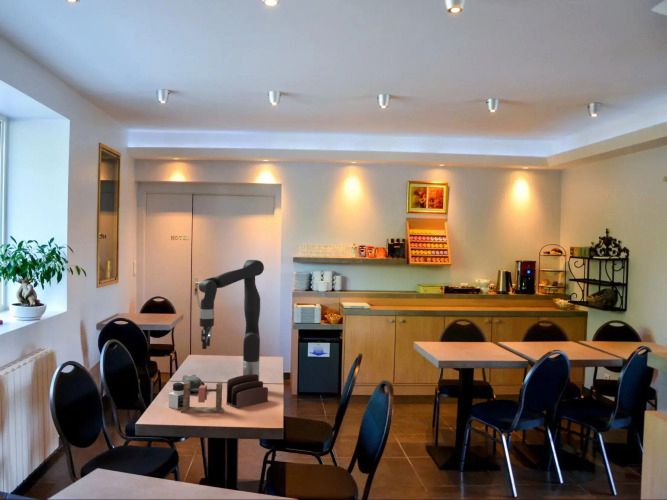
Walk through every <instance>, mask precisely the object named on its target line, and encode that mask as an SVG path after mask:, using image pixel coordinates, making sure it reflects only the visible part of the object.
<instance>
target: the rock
mask: <svg viewBox="0 0 667 500" xmlns="http://www.w3.org/2000/svg"><path fill="white" fill-rule="evenodd" d="M186 381H190V389H199V387H200V386H201V385H206V384H205V383H204V381H202V380H201V378H200V377H198V376H197V374H192V375H191V376H189V375H187V374H185V375H183V377H182V381H181V382H182V383H185V382H186ZM191 392H192V393H197V394H198V393H199V391H190V393H191Z"/></svg>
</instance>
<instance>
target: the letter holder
mask: <svg viewBox="0 0 667 500" xmlns="http://www.w3.org/2000/svg"><path fill="white" fill-rule="evenodd" d="M258 380H259V381H258ZM268 402H269V388H268V387H267V386H264V381H262V380H260V375H259V376H258V375H257V374H249V375H243V374H242V375H240V376H239V375H237V376H235V377H232V378H229V379H228V380H227V381H226V405H227V406H229V405H230V406H229V407H231V408H235V409H236V410H237V408H238V409H242V408H245V407H250V406H255V405H259V404H264V403H268Z"/></svg>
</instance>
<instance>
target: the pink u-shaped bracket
mask: <svg viewBox="0 0 667 500" xmlns="http://www.w3.org/2000/svg"><path fill="white" fill-rule="evenodd" d="M205 389H208V385H206V384H205V385H201V386H200V387H199V392H198V393H197V394H198V395H197V396H198V397H197V398H198V399H197V402H198V403H200V404H201V403H203V404H204V403H205V402H206V400H207V398H208V391H205Z"/></svg>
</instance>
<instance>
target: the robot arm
mask: <svg viewBox="0 0 667 500" xmlns="http://www.w3.org/2000/svg"><path fill="white" fill-rule="evenodd" d="M264 270H265V267H264V263H263V261H260V260H259V259H247V260H246V261H244V263H243V266H242V268H237V269H234V270H230V271H226V272H224V273H221V274H218V275H216V276H214V277H213V276H212V277H209V278H205V279H203V280H201V281H200V282H199V283H198V289H199V291H200V292H201V293H203V294H204V297H202V298H201V300H200V310H199V327H201V328H202V327H203V328H202V329H201V334H200V336H201V337H200V341H201V343H202V345H201V348H202V350H206V349H207V347H210V346H211V338H212V327H214V326H215V299H216V295H217V291H218V289H223V288H225V287H228V286H230V285H232V284H235V283H237V282H240V281H242V280H243V283H244V285H243V286H244V287H243V288H244V291H243V293H244V298H243V300H244V301H243V302H244V303H243V305H244V306H243V308H244V310H243V311H244V318H245V332H244V333H245V334H244V339H243V346H242V349H243V350H242V351H243V352H242V357H243V358H242V360H243V362H242V376H243V375H249V374H257V375H258V376H259V377H260V355H261V354H260V352H261V351H260V349H261V348H260V347H261V337H260V329H259V328H260V327H259V323H260V315H261V314H260V313H261V296H260V294H259V291H258V288H257V285H256V277H257V276H260V275H262V274H263V273H264ZM258 381H260V379H259V380H258Z"/></svg>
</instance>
